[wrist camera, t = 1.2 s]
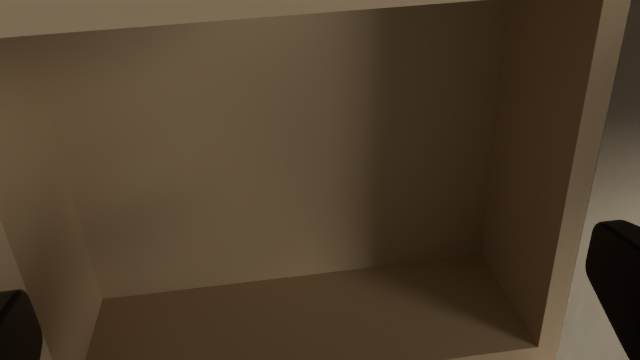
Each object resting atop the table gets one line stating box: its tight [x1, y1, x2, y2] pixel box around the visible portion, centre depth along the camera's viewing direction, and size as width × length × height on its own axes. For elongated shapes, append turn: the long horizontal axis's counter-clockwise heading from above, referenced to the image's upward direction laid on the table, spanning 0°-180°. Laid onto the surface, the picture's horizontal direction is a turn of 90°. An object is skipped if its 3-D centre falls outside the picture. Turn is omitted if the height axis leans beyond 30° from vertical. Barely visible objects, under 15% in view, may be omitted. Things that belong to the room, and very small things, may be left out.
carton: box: [0, 0, 631, 360], centre depth 15 cm, size 14×14×5 cm
